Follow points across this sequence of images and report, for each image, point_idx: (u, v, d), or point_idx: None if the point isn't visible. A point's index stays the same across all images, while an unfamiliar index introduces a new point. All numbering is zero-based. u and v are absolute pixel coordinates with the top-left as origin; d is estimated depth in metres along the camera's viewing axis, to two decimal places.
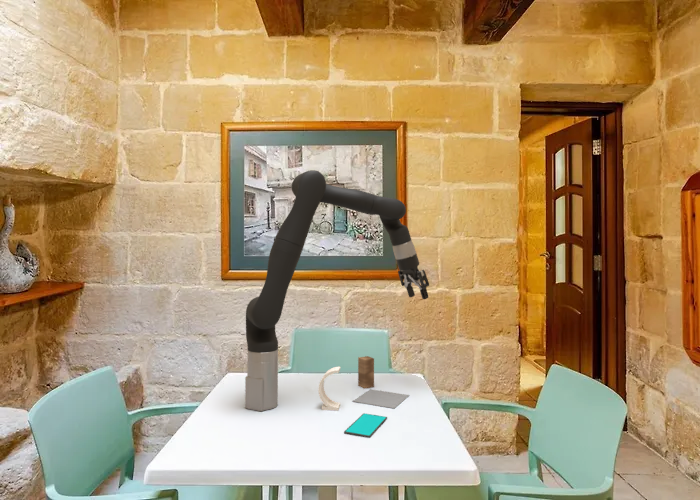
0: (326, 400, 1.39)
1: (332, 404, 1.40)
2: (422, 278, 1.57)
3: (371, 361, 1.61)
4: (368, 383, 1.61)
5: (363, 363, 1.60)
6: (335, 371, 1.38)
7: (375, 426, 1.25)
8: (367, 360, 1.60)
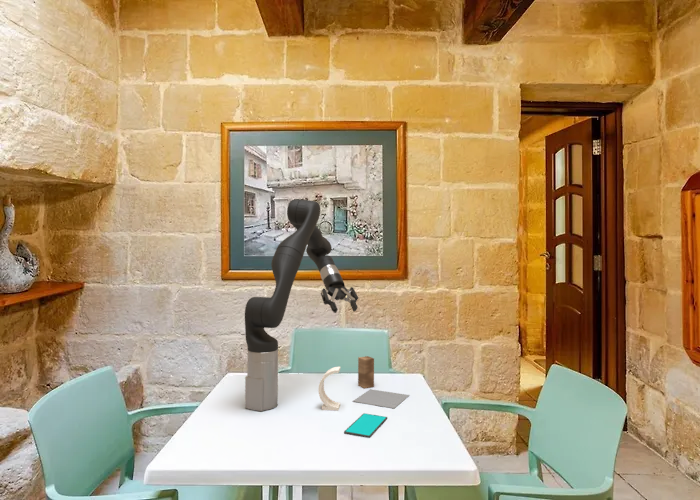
0: (326, 400, 1.39)
1: (332, 404, 1.40)
2: None
3: (371, 361, 1.61)
4: (368, 383, 1.61)
5: (363, 363, 1.60)
6: (335, 371, 1.38)
7: (375, 426, 1.24)
8: (367, 360, 1.60)
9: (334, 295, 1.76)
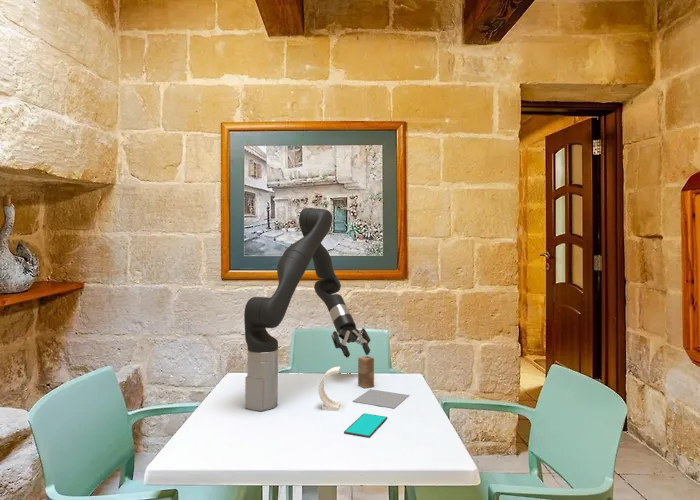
0: (326, 400, 1.39)
1: (332, 404, 1.40)
2: None
3: (371, 361, 1.61)
4: (368, 383, 1.61)
5: (363, 363, 1.60)
6: (335, 371, 1.38)
7: (375, 426, 1.24)
8: (367, 360, 1.60)
9: (346, 338, 1.68)
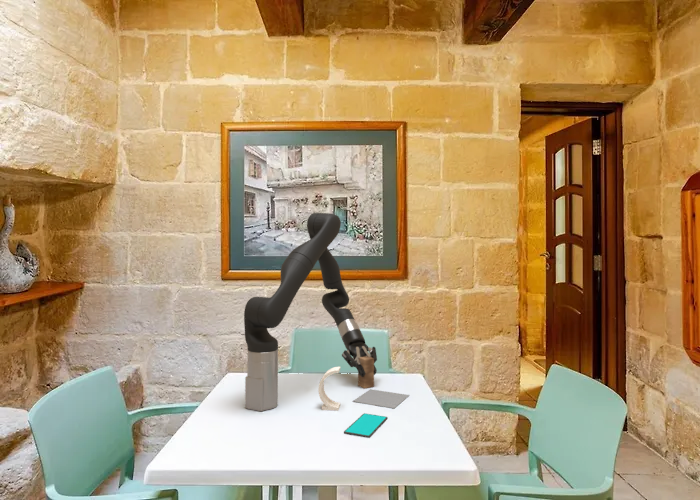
0: (326, 400, 1.39)
1: (332, 404, 1.40)
2: None
3: (371, 361, 1.61)
4: (368, 383, 1.61)
5: (363, 363, 1.60)
6: (335, 371, 1.38)
7: (375, 426, 1.24)
8: (367, 360, 1.60)
9: (358, 356, 1.63)
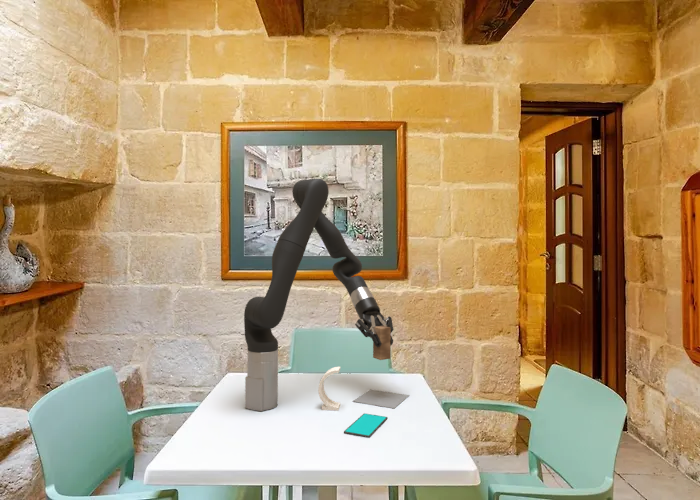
0: (326, 400, 1.39)
1: (332, 404, 1.40)
2: None
3: (387, 330, 1.48)
4: (384, 354, 1.47)
5: (379, 332, 1.47)
6: (335, 371, 1.38)
7: (375, 426, 1.24)
8: (383, 329, 1.47)
9: (373, 325, 1.49)
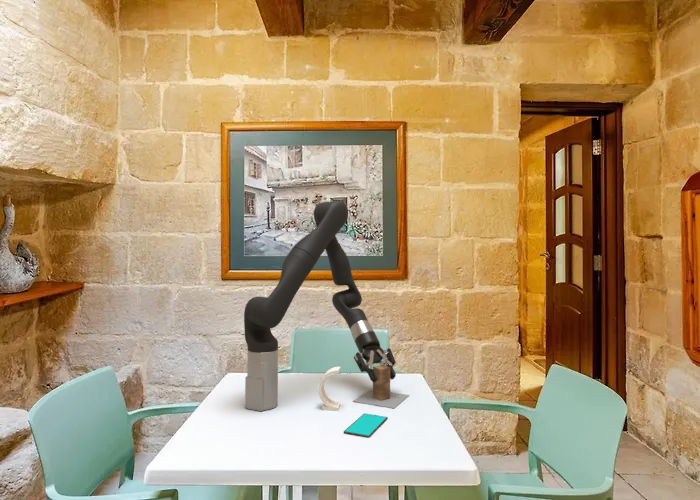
0: (326, 400, 1.39)
1: (332, 404, 1.40)
2: None
3: (387, 371, 1.48)
4: (384, 395, 1.47)
5: (379, 373, 1.47)
6: (335, 371, 1.38)
7: (375, 426, 1.24)
8: (383, 369, 1.47)
9: (371, 360, 1.49)
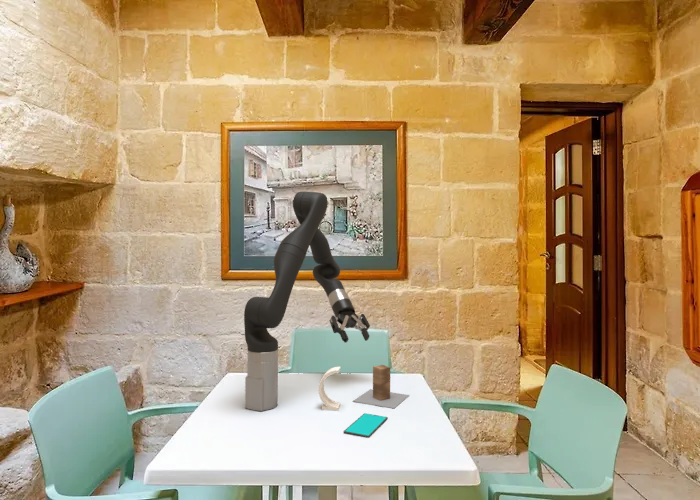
0: (326, 400, 1.39)
1: (332, 404, 1.40)
2: None
3: (387, 371, 1.48)
4: (384, 395, 1.47)
5: (379, 373, 1.47)
6: (335, 371, 1.38)
7: (375, 426, 1.24)
8: (383, 369, 1.47)
9: (344, 323, 1.62)
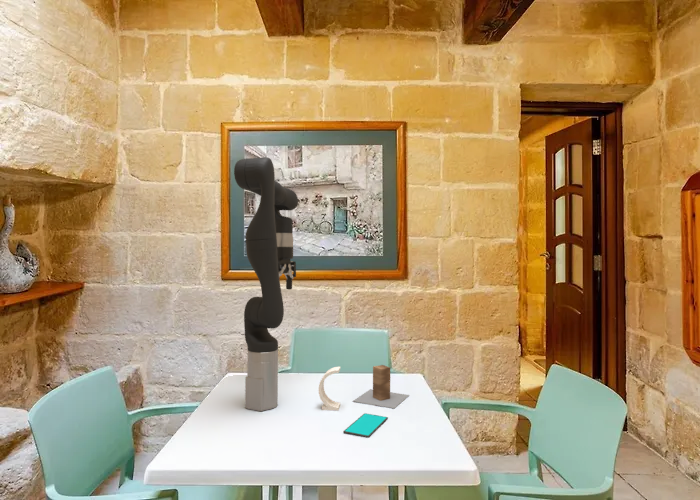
0: (326, 400, 1.39)
1: (332, 404, 1.40)
2: None
3: (387, 371, 1.48)
4: (384, 395, 1.47)
5: (379, 373, 1.47)
6: (335, 371, 1.38)
7: (375, 426, 1.24)
8: (383, 369, 1.47)
9: (281, 273, 1.65)
